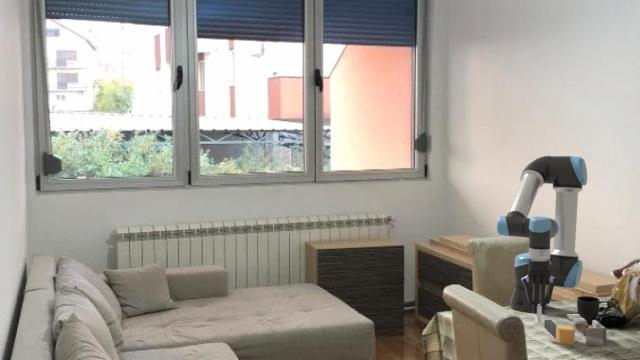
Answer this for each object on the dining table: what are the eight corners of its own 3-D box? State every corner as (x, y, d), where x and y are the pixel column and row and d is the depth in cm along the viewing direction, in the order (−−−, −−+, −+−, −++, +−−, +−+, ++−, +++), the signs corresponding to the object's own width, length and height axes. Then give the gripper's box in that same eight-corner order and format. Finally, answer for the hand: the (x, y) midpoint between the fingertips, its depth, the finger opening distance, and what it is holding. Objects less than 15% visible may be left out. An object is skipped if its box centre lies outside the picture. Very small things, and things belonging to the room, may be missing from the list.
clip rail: (565, 326, 271) (566, 311, 271) (583, 326, 271) (584, 311, 271) (586, 345, 250) (586, 329, 249) (606, 345, 250) (606, 328, 249)
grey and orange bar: (544, 327, 271) (544, 314, 270) (557, 327, 271) (557, 314, 270) (560, 344, 252) (560, 330, 251) (574, 343, 252) (574, 330, 251)
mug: (610, 327, 269) (611, 303, 268) (577, 324, 273) (577, 301, 272) (608, 320, 277) (608, 297, 276) (576, 318, 281) (576, 295, 280)
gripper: (524, 261, 252) (523, 325, 254) (560, 261, 252) (559, 325, 254) (518, 257, 259) (517, 319, 262) (553, 257, 259) (552, 319, 261)
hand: (538, 322), depth 258 cm, fingers closed
